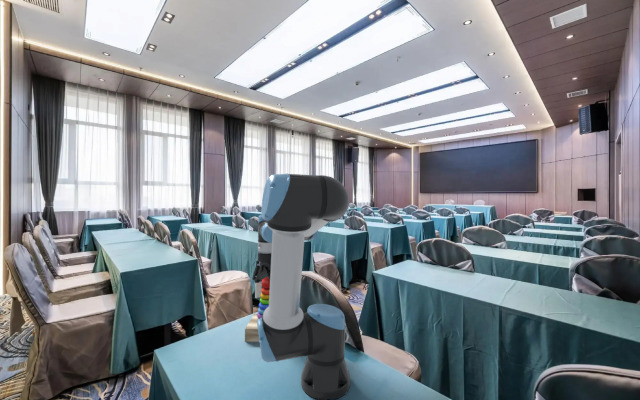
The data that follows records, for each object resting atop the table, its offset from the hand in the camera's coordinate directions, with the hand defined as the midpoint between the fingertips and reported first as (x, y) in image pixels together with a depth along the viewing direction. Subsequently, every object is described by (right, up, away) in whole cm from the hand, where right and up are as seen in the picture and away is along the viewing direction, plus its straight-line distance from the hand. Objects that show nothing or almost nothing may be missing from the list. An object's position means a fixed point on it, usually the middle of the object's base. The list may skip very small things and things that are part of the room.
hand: (266, 301), depth 116 cm
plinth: (0, -13, 0) cm, 13 cm away
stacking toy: (0, -8, 0) cm, 8 cm away
